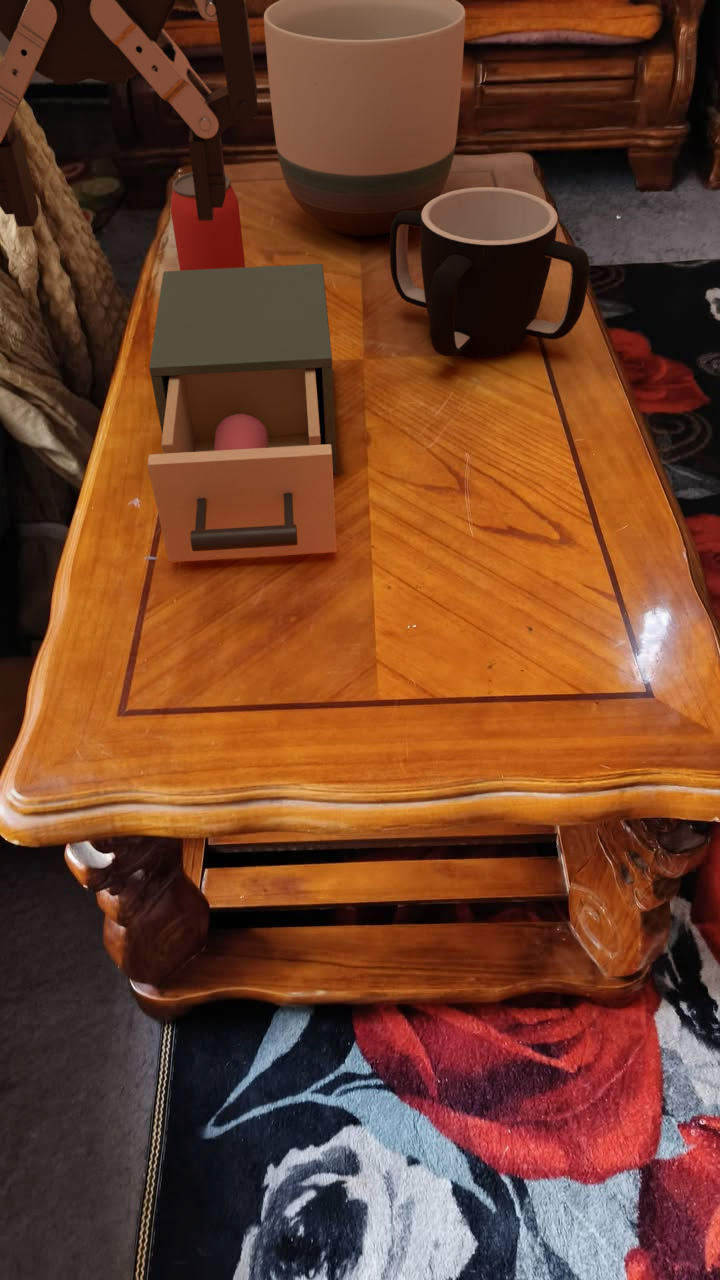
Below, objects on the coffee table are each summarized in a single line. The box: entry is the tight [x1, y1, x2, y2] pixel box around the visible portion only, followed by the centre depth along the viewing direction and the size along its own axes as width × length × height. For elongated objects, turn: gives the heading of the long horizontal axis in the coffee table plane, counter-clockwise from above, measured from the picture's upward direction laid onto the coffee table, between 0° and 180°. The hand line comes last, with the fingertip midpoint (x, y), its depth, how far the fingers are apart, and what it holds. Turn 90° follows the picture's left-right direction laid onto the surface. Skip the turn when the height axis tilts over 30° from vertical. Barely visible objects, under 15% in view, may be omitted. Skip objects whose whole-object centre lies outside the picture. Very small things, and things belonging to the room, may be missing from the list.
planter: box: [263, 0, 466, 237], centre depth 104 cm, size 20×20×21 cm
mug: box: [389, 186, 591, 358], centre depth 89 cm, size 16×16×12 cm
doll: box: [214, 414, 269, 451], centre depth 73 cm, size 4×4×8 cm
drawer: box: [147, 368, 338, 563], centre depth 71 cm, size 19×12×9 cm, turn 4°
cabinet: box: [148, 263, 338, 474], centre depth 80 cm, size 16×14×11 cm
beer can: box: [170, 172, 246, 271], centre depth 95 cm, size 7×7×12 cm
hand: (118, 217), depth 46 cm, fingers open, 8 cm apart
